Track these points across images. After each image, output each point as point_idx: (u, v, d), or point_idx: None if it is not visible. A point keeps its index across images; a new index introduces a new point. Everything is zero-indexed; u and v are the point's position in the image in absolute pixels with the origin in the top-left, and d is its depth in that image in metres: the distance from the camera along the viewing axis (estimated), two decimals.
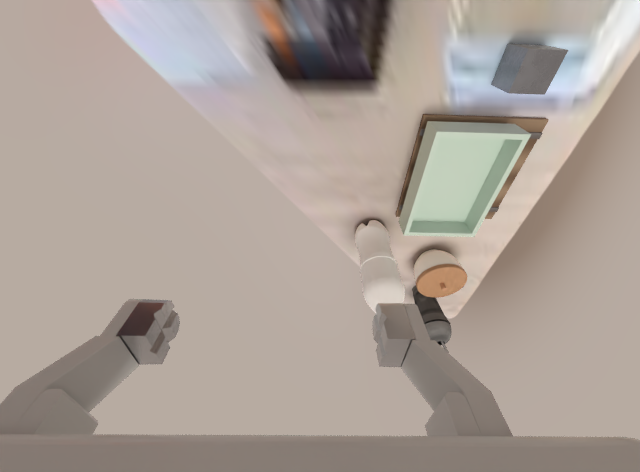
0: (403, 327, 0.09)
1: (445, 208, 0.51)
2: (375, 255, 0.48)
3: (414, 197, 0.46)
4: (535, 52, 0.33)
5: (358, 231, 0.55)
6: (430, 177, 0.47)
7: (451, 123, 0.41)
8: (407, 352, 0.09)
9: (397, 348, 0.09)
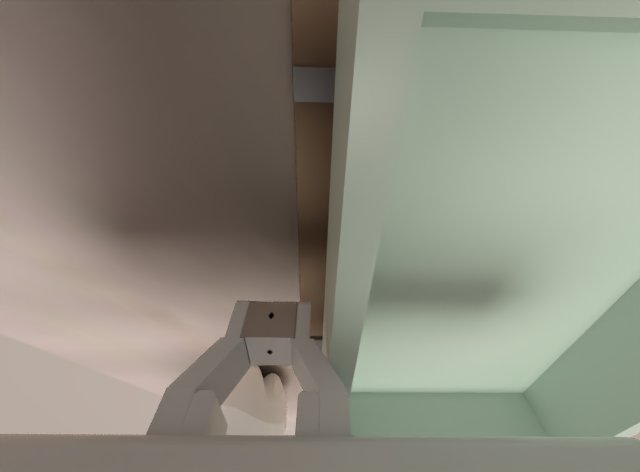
0: (287, 325, 0.09)
1: (463, 366, 0.15)
2: None
3: None
4: None
5: None
6: (399, 283, 0.11)
7: None
8: (291, 351, 0.09)
9: (280, 347, 0.09)
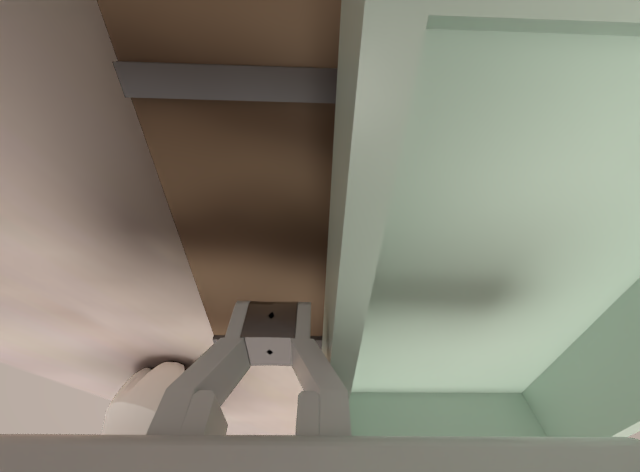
0: (287, 325, 0.09)
1: (462, 366, 0.15)
2: None
3: None
4: None
5: None
6: (399, 284, 0.11)
7: None
8: (291, 350, 0.09)
9: (280, 347, 0.09)
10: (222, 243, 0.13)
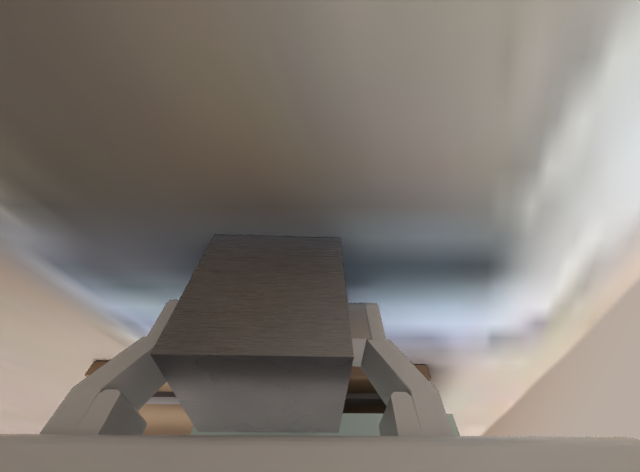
0: (360, 326, 0.09)
1: None
2: None
3: None
4: (194, 362, 0.07)
5: None
6: None
7: None
8: (364, 351, 0.09)
9: (354, 348, 0.09)
10: None
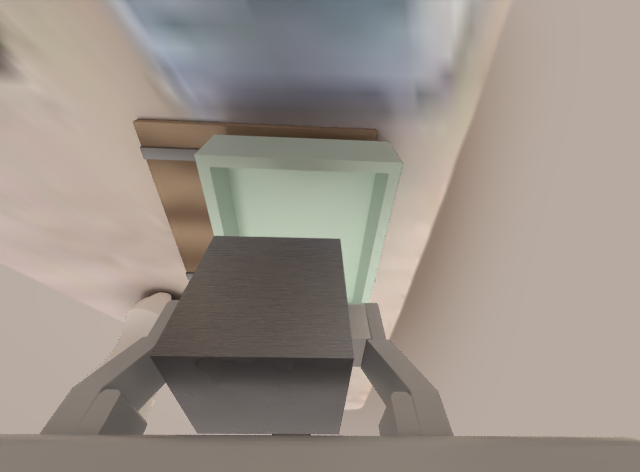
0: (360, 327, 0.09)
1: None
2: None
3: None
4: (194, 364, 0.07)
5: None
6: (262, 236, 0.26)
7: (257, 139, 0.20)
8: (365, 352, 0.09)
9: (354, 348, 0.09)
10: (187, 219, 0.27)
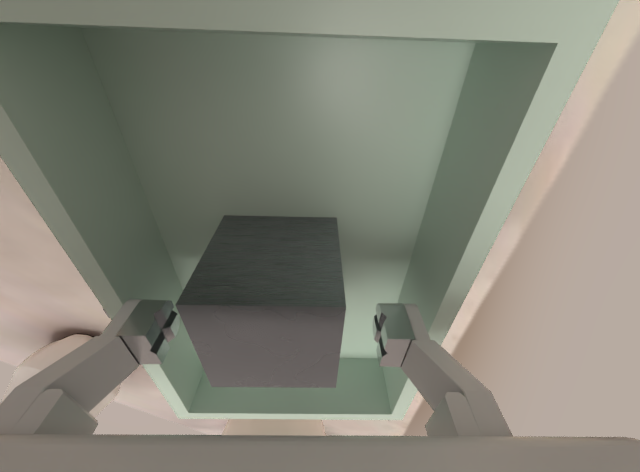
0: (403, 327, 0.09)
1: None
2: None
3: None
4: (212, 313, 0.08)
5: None
6: None
7: None
8: (407, 352, 0.09)
9: (397, 348, 0.09)
10: None
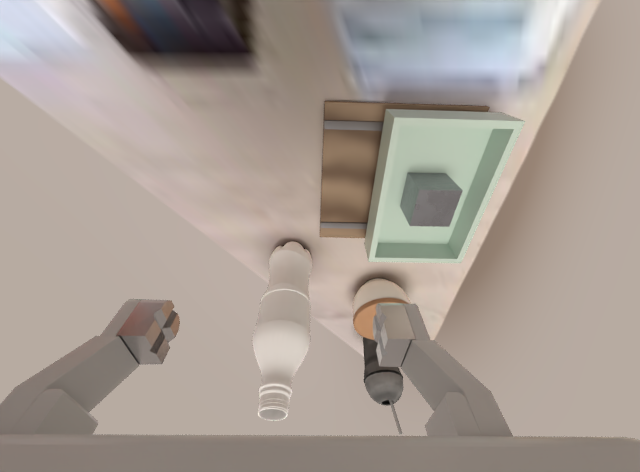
0: (403, 327, 0.09)
1: (421, 226, 0.40)
2: (275, 287, 0.36)
3: (376, 210, 0.34)
4: (427, 192, 0.31)
5: (271, 256, 0.43)
6: (397, 185, 0.36)
7: (417, 111, 0.30)
8: (407, 352, 0.09)
9: (397, 348, 0.09)
10: (336, 176, 0.38)
